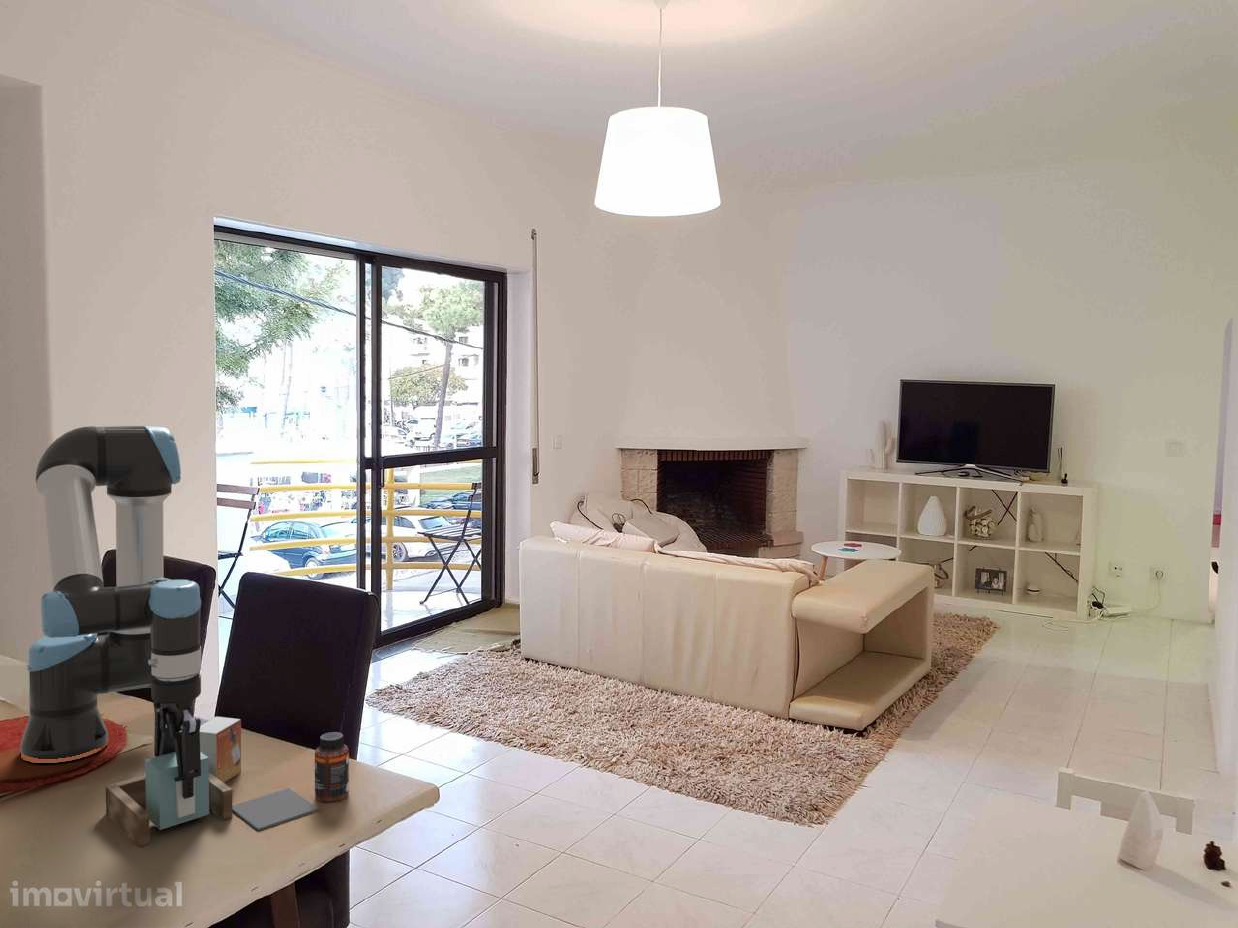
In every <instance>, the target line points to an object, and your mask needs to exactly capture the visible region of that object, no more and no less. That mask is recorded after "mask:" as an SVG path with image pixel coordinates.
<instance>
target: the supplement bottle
mask: <svg viewBox="0 0 1238 928" xmlns="http://www.w3.org/2000/svg"><path fill="white" fill-rule="evenodd" d="M349 751H350V750H349V746H348V745H346V744H345V743H344V735H343V733H342V732H338V731H331V732H325V733H324V734H322V735H321V736H320V738H319V746H318V747H316V749H315V751H314V796H315V799H316V800H318V801H320V802H324V803H335V802H337V801H341V800H343V799H345V798H346V797H348V795H349V793H350V762H349V761H350V752H349ZM334 801H335V802H334Z"/></svg>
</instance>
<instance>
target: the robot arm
mask: <svg viewBox="0 0 1238 928" xmlns="http://www.w3.org/2000/svg"><path fill="white" fill-rule="evenodd" d="M181 472H182V471H181V461H180V455H179V451H178V446H177V443H176V439H175V437H174V434H173V433H172V431H171V430H170V429H168V428H166V427H164V426H153V425H152V426H150V425H127V426H126V425H122V426H121V425H119V426H95V425H93V426H92V425H91V426H81V427H78V428H77V427H76V428H74V429H72V430H69V431H66V432H65V433H64V434H61V436H59V437H58V438H57V439H55V440H54V441H53V442H52V443H50V445H49V446H48V447H47V448H46V450H45V451H44V453H43V454H42V455H41V457H40V460H39V461H38V464H37V467H36V471H35V484H36V486H35V487H36V491H37V493H38V494H39V495H40V496H41V497H42V498H43V501H44V503H43V504H44V513H45V523H46V530H47V531H46V532H47V543H48V544H47V545H48V553H49V564H50V573H51V574H50V575H51V585H52V592H46V593H44V594H42V595H41V597H40V616H41V629H42V633H43V635H44V636H43V637H40V638H39V639H37V640H36V641H34V643H32V644H31V646H30V647H29V650H28V662H27V663H28V664H27V667H26V669H27V671H28V690H29V691H28V694H29V695H28V696H29V698H28V700H29V701H28V702H29V718H28V721H27V723H26V726H25V728H24V733H23V735H22V737H21V741H20V745H19V752H20V751H21V753H22V754H24V755H26V756H29V757H33V758H38V759H58V758H66V757H72V756H76V755H80V754H83V753H86V752H89V751H91V750H94V749H98V748H101V747H103V746H104V745H105V744H106V743H107V741H108V742H109V733H108V729H107V727H106V724H105V722H104V719H103V716H102V715H101V712H100V710H99V707H98V695H101V694H111V693H116V692H123V691H129V690H137V689H143V688H144V689H145V688H148V689H149V688H150V692H151V693H150V694H151V695H150V696H151V699H152V701H153V711H154V745H153V746H154V750H153V751H154V752H153V755H154V757H158V756H161V755H165V754H169V753H173V752H176V759H177V767H178V775H179V777H176V778H174V780H175V782H176V812H177V817H178V818H180V817H183V816H186V815H189V814H193V813H195V777H199V776H201V756H200V726H201V725H202V722H201V721H202V719H201V718H200V717H197V718H194V710H193V707H192V702H193V700H195V699H197V698H198V697H199V696H200V695H201V693H202V679H201V678H202V675H201V673H200V671H201V670H202V646H201V606H202V599H201V595H200V594H201V590H200V585H199V584H198V583H197V582H195V581H194V580H189V579H170V578H166V577H164V501H165V500H166V499H167V498H168V497H169V496H170V495H171V494H172V488H173V487H172V486H173V485H176V484H179V483H181V479H182V478H181V477H182V476H181V475H182V473H181ZM104 486H105V487H106V495H107V496H108V497H109V498H111V499H112V500H113V501H114V502H115V552H116V553H115V556H116V558H115V559H116V560H115V561H116V562H115V563H116V572H115V573H116V576H115V577H116V579H115V580H116V586H108V587H107V586H106V587H105V586H104V579H103V577H104V575H103V570H102V569H103V568H102V562H101V556H100V555H101V554H100V549H99V548H100V547H99V541H98V539H99V538H98V534H97V526H96V520H95V519H96V518H95V512H94V505H93V497H92V496H93V495H92V494H93V492H94V491H95V488H96V487H104ZM101 633H107V634H103V635H102V634H101ZM98 634H101V635H98Z"/></svg>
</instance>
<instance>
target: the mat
mask: <svg viewBox="0 0 1238 928" xmlns="http://www.w3.org/2000/svg"><path fill="white" fill-rule="evenodd" d="M319 810H320V808H319V806H316V804H313V802H310V801H309V800H307V799H306V798H305V797H303V796H301V795H300V794H299V793H297V792H295V791H294V790H292V789H291V788H290V787H288V788H284V789H281V790H278V791H275V792H272V793H268V794H265V795H261V796H259V797H254V798H252V799H249V800H245V801H242V802H239V803H236V804H232V813H234V814H236V815H237V817H239V818H241V819H243V820H244V821H245V823H247V824H248V825H250V826H251V827H252V828H254V829H255V830H256V831H262V830H265V829H267V828H271V827H275V826H276V825H280V824H282V823H286V822H289V821H291V820H295V819H298V818H300V817H304V816H306V815H308V814H312V813H315V812H317V811H319ZM314 811H315V812H314Z"/></svg>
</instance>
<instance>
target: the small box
mask: <svg viewBox="0 0 1238 928" xmlns="http://www.w3.org/2000/svg"><path fill="white" fill-rule="evenodd" d="M200 752H202V753H203V754H204V755H206V756H207V757H208V758H209V773H211V774H212V775H213V776H215V777H216V778H218V779H219V780H220V781H222V782H223V783H224V784H226V782H228V781H229V780H230V779H232V778H234V777H235V776H238V775H239V774H241V772H242V720H241V719H240V718H233V717H225V716H214V717H213V718H211V719H210V720H208V721H206V722H204V723H202V724H201V725H200Z"/></svg>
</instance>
